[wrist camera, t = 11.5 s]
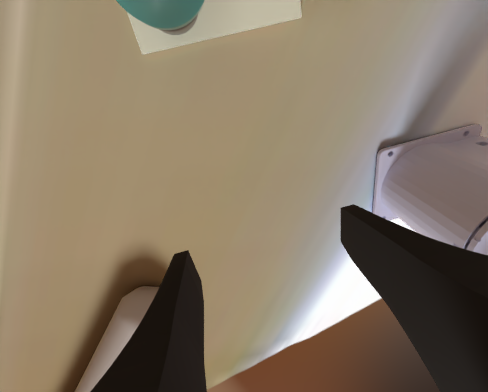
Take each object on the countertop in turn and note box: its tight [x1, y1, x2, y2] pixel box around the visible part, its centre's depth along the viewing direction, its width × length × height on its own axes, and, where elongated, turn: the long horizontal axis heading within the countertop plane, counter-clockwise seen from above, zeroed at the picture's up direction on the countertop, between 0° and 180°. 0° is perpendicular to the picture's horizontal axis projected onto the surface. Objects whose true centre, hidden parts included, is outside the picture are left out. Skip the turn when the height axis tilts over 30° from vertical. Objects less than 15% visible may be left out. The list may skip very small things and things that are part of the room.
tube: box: [75, 286, 159, 392], centre depth 27 cm, size 5×5×25 cm
